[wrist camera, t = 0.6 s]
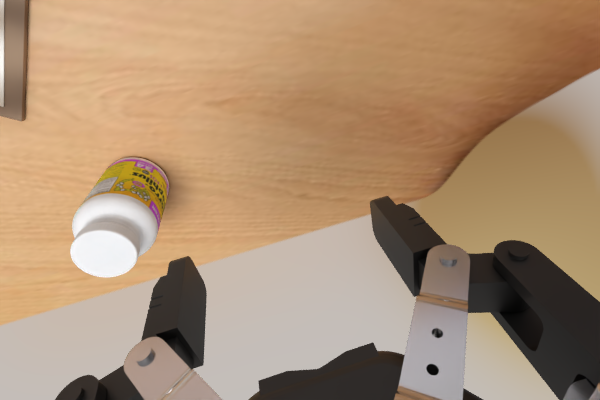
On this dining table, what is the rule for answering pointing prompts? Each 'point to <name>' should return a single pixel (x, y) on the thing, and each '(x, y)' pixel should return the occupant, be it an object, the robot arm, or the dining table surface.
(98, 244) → the supplement bottle
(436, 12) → the dining table surface
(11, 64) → the clipboard
